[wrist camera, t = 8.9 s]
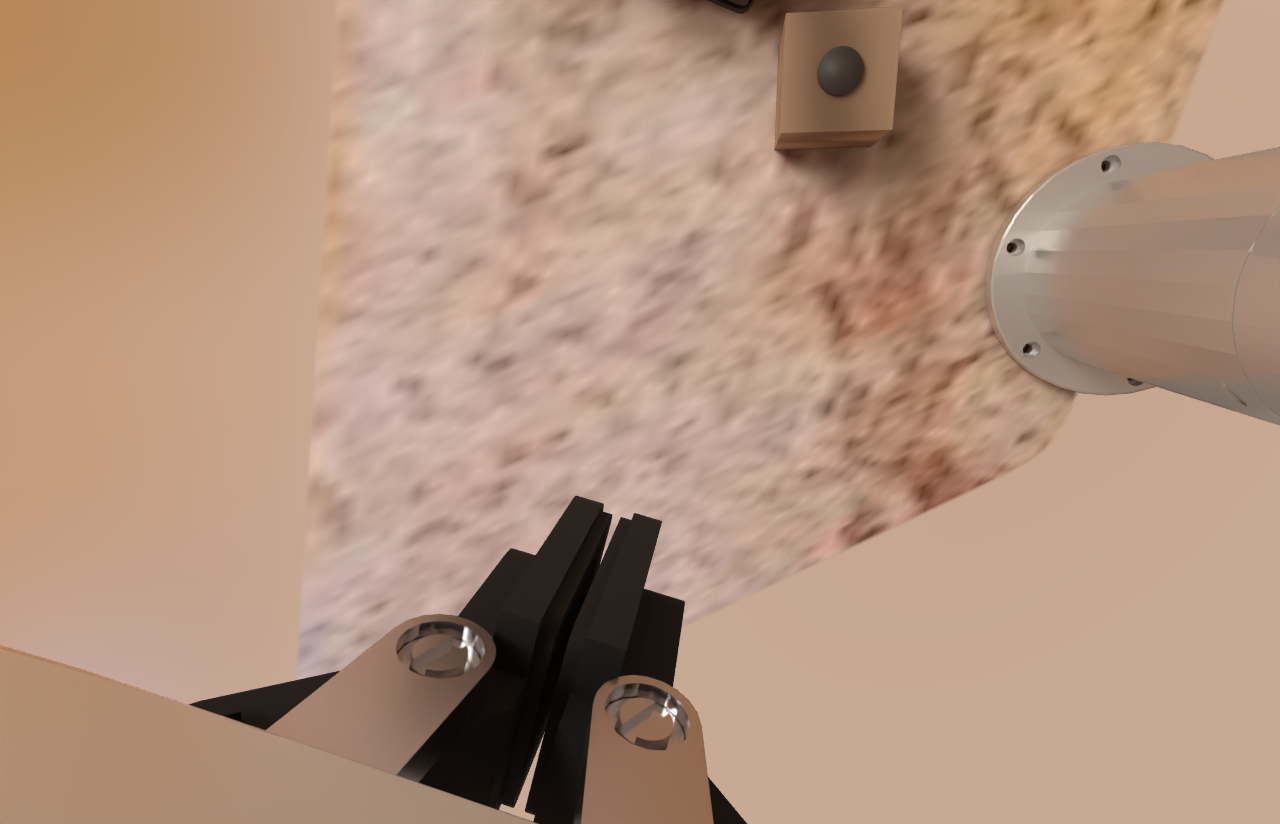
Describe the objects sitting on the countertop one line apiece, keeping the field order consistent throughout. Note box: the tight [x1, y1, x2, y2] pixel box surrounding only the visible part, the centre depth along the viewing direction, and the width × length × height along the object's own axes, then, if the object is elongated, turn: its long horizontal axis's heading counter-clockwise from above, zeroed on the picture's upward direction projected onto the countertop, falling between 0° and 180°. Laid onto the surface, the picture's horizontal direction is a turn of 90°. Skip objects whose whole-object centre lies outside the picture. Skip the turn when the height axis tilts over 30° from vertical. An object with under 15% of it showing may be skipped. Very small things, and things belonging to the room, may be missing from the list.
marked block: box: [774, 6, 903, 150], centre depth 31 cm, size 5×5×5 cm
